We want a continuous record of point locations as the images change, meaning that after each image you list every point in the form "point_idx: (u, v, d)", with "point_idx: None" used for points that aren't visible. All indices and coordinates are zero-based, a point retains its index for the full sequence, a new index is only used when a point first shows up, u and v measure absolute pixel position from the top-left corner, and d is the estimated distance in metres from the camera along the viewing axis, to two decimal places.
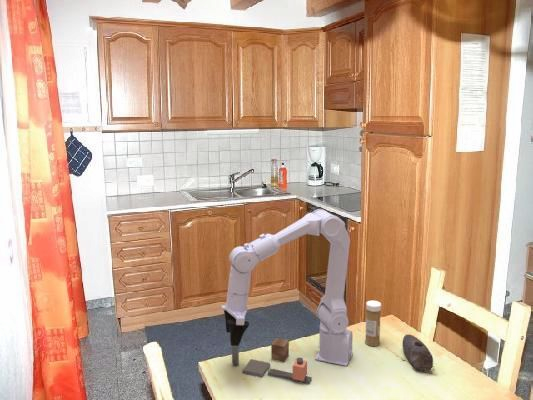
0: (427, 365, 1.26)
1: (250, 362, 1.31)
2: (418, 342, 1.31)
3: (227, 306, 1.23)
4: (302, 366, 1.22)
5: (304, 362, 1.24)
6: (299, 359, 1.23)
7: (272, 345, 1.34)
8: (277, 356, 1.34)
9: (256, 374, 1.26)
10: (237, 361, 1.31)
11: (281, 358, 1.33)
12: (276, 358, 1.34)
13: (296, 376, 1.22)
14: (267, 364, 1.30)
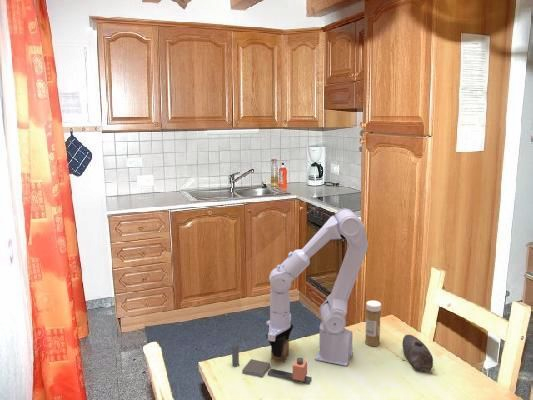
0: (427, 365, 1.26)
1: (250, 362, 1.31)
2: (418, 342, 1.31)
3: (270, 322, 1.34)
4: (302, 366, 1.22)
5: (304, 362, 1.24)
6: (299, 359, 1.23)
7: None
8: None
9: (256, 374, 1.26)
10: (237, 361, 1.31)
11: (281, 358, 1.33)
12: (276, 358, 1.34)
13: (296, 376, 1.22)
14: (267, 364, 1.30)
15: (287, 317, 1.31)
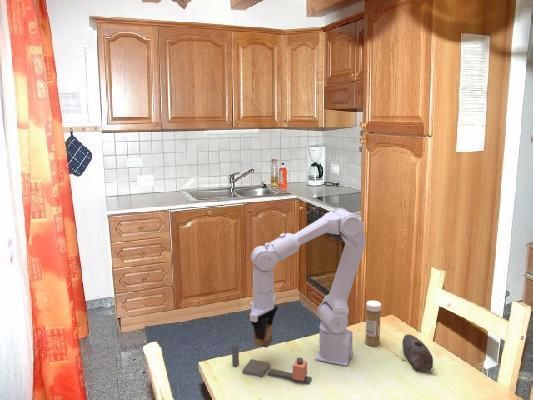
0: (427, 365, 1.26)
1: (250, 362, 1.31)
2: (418, 342, 1.31)
3: (253, 302, 1.28)
4: (302, 366, 1.22)
5: (304, 362, 1.24)
6: (299, 359, 1.23)
7: None
8: (259, 341, 1.28)
9: (256, 374, 1.26)
10: (237, 361, 1.31)
11: (264, 343, 1.28)
12: (259, 343, 1.28)
13: (296, 376, 1.22)
14: (267, 364, 1.30)
15: (270, 297, 1.26)
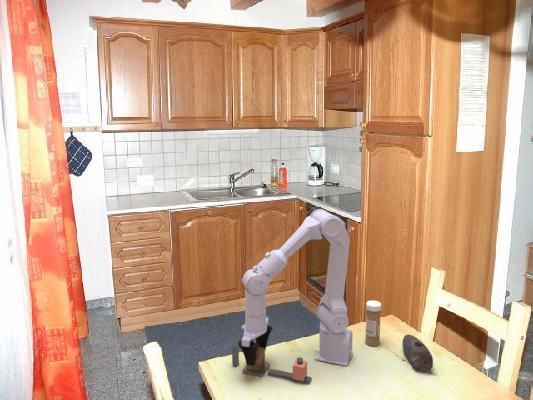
0: (427, 365, 1.26)
1: None
2: (418, 342, 1.31)
3: (245, 326, 1.27)
4: (302, 366, 1.22)
5: (304, 362, 1.24)
6: (299, 359, 1.23)
7: None
8: None
9: (256, 374, 1.26)
10: (237, 361, 1.31)
11: (256, 367, 1.27)
12: (251, 367, 1.28)
13: (296, 376, 1.22)
14: (267, 364, 1.30)
15: (263, 321, 1.25)
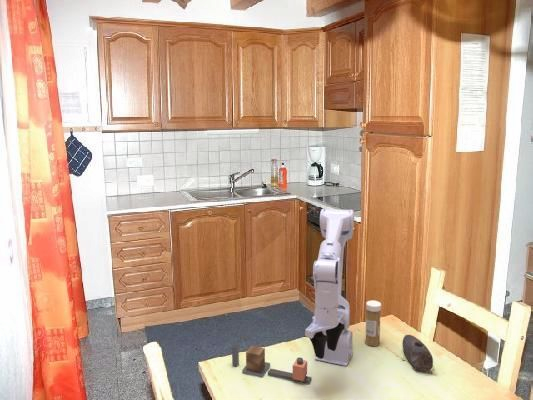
0: (427, 365, 1.26)
1: None
2: (418, 342, 1.31)
3: None
4: (302, 366, 1.22)
5: (304, 362, 1.24)
6: (299, 359, 1.23)
7: (247, 353, 1.27)
8: (252, 364, 1.27)
9: (256, 374, 1.26)
10: (237, 361, 1.31)
11: (256, 367, 1.27)
12: (251, 367, 1.28)
13: (296, 376, 1.22)
14: (267, 364, 1.30)
15: (332, 314, 1.15)
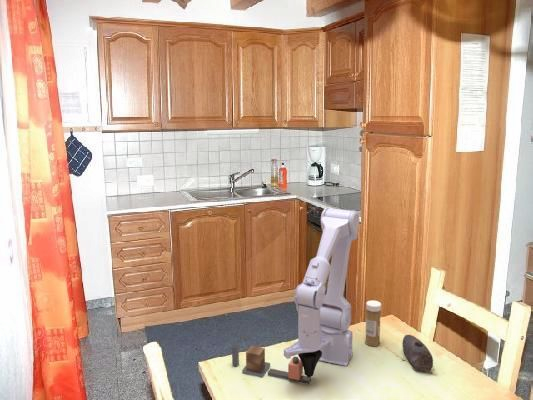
0: (427, 365, 1.26)
1: None
2: (418, 342, 1.31)
3: None
4: (298, 365, 1.22)
5: (300, 361, 1.24)
6: (295, 358, 1.23)
7: (247, 353, 1.27)
8: (252, 364, 1.27)
9: (256, 374, 1.26)
10: (237, 361, 1.31)
11: (256, 367, 1.27)
12: (251, 367, 1.28)
13: (292, 375, 1.23)
14: (267, 364, 1.30)
15: (311, 339, 1.18)
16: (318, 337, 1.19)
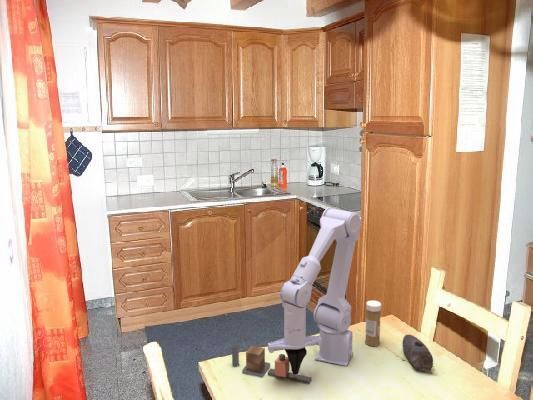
0: (427, 365, 1.26)
1: None
2: (418, 342, 1.31)
3: None
4: (284, 362, 1.24)
5: (286, 358, 1.25)
6: (281, 355, 1.25)
7: (247, 353, 1.27)
8: (252, 364, 1.27)
9: (256, 374, 1.26)
10: (237, 361, 1.31)
11: (256, 367, 1.27)
12: (251, 367, 1.28)
13: (278, 372, 1.24)
14: (267, 364, 1.30)
15: (294, 336, 1.19)
16: (302, 335, 1.20)
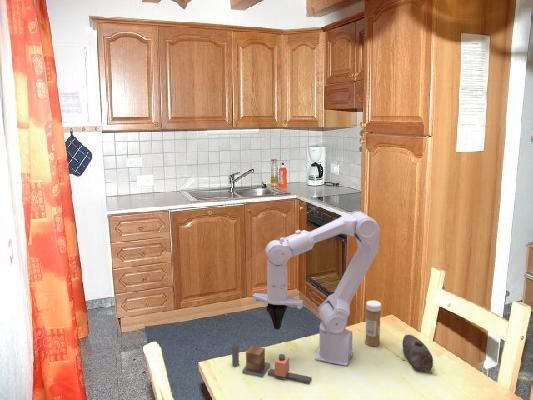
0: (427, 365, 1.26)
1: None
2: (418, 342, 1.31)
3: None
4: (284, 362, 1.24)
5: (286, 358, 1.25)
6: (281, 355, 1.25)
7: (247, 353, 1.27)
8: (252, 364, 1.27)
9: (256, 374, 1.26)
10: (237, 361, 1.31)
11: (256, 367, 1.27)
12: (251, 367, 1.28)
13: (278, 372, 1.24)
14: (267, 364, 1.30)
15: (270, 291, 1.27)
16: (278, 293, 1.27)
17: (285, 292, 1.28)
